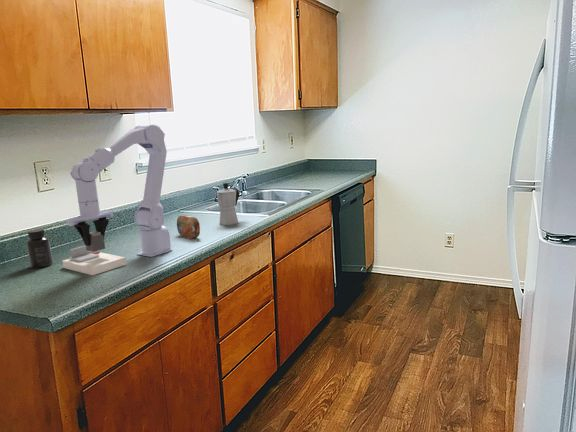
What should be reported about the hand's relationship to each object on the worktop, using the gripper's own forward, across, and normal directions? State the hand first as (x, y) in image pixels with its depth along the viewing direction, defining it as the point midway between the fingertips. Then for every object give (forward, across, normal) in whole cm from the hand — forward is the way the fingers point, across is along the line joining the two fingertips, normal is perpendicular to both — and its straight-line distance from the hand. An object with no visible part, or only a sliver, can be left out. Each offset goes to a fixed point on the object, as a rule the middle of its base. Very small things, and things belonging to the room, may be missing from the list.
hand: (94, 243), depth 146 cm
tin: (+8, -43, -5) cm, 44 cm away
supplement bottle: (+8, +7, -22) cm, 25 cm away
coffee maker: (+8, -69, -7) cm, 70 cm away
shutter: (+6, 0, -7) cm, 9 cm away
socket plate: (+8, -1, -4) cm, 9 cm away
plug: (+2, 0, 0) cm, 2 cm away
